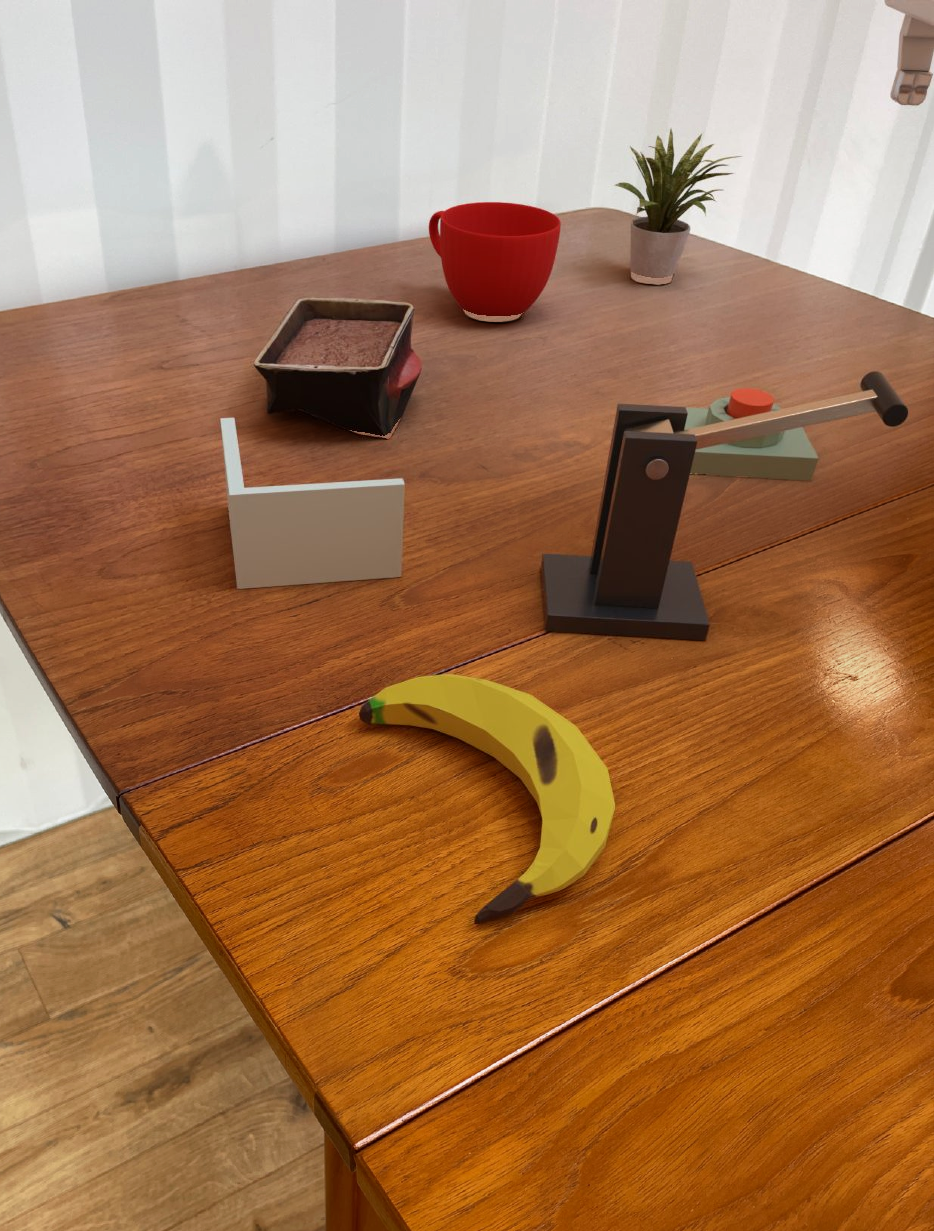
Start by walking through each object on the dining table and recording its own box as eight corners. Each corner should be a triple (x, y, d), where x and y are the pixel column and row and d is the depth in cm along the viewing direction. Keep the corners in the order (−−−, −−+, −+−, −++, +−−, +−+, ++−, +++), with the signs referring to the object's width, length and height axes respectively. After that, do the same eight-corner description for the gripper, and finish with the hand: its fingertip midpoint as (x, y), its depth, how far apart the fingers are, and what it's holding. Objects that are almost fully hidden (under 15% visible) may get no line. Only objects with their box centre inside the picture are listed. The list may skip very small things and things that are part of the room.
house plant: (683, 310, 121) (716, 153, 110) (574, 286, 126) (596, 133, 116) (725, 278, 130) (759, 130, 119) (622, 256, 136) (646, 113, 125)
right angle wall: (401, 576, 77) (404, 484, 72) (237, 589, 75) (229, 495, 70) (375, 497, 86) (376, 410, 81) (227, 506, 84) (220, 418, 79)
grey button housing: (788, 435, 97) (800, 393, 94) (811, 481, 90) (825, 438, 87) (668, 429, 97) (677, 387, 95) (682, 474, 90) (692, 431, 88)
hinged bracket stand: (688, 577, 78) (732, 399, 69) (705, 641, 72) (757, 455, 63) (540, 569, 78) (565, 391, 69) (545, 631, 72) (573, 445, 63)
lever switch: (883, 397, 67) (884, 360, 65) (907, 431, 63) (909, 394, 61) (627, 452, 70) (622, 419, 69) (635, 487, 66) (631, 453, 65)
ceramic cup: (466, 277, 128) (472, 187, 121) (573, 316, 119) (586, 221, 112) (388, 300, 121) (390, 207, 115) (495, 343, 112) (504, 244, 105)
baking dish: (239, 448, 96) (233, 349, 89) (301, 348, 107) (301, 253, 100) (390, 481, 95) (397, 383, 87) (437, 376, 106) (447, 281, 98)
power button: (764, 408, 92) (769, 389, 91) (772, 426, 90) (778, 406, 89) (722, 406, 93) (727, 387, 91) (730, 423, 90) (735, 404, 89)
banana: (407, 626, 65) (254, 788, 57) (669, 722, 57) (533, 925, 49) (415, 679, 68) (271, 839, 60) (663, 777, 60) (535, 975, 52)
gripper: (1188, -180, 47) (1052, 163, 56) (1013, -179, 62) (928, 89, 71) (1045, -185, 47) (932, 157, 56) (905, -183, 62) (834, 85, 72)
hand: (929, 119), depth 64 cm, fingers open, 8 cm apart
